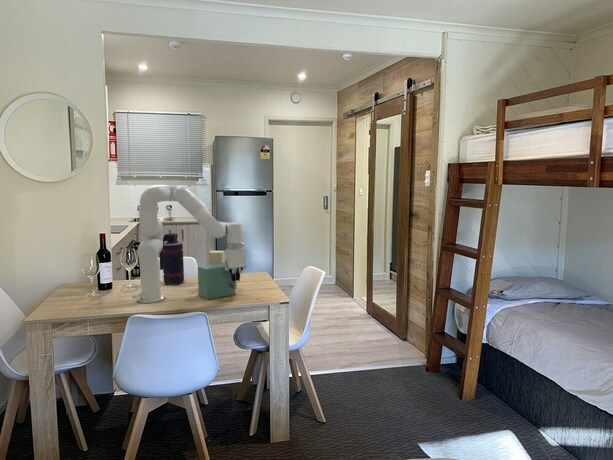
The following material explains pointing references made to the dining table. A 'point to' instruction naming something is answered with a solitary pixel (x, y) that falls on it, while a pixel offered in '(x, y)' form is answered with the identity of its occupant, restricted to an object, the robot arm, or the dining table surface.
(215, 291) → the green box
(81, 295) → the dining table surface
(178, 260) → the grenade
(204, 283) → the cooler
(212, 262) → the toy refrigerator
